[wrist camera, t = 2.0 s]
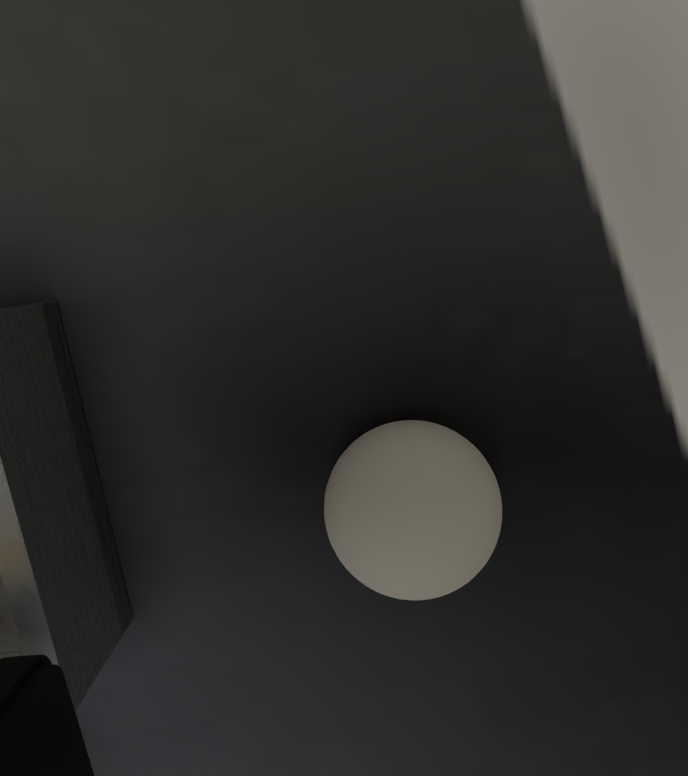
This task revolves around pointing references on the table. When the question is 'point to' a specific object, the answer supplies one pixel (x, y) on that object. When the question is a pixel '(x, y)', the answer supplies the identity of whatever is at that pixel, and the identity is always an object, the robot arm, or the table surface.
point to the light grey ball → (413, 510)
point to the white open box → (52, 509)
